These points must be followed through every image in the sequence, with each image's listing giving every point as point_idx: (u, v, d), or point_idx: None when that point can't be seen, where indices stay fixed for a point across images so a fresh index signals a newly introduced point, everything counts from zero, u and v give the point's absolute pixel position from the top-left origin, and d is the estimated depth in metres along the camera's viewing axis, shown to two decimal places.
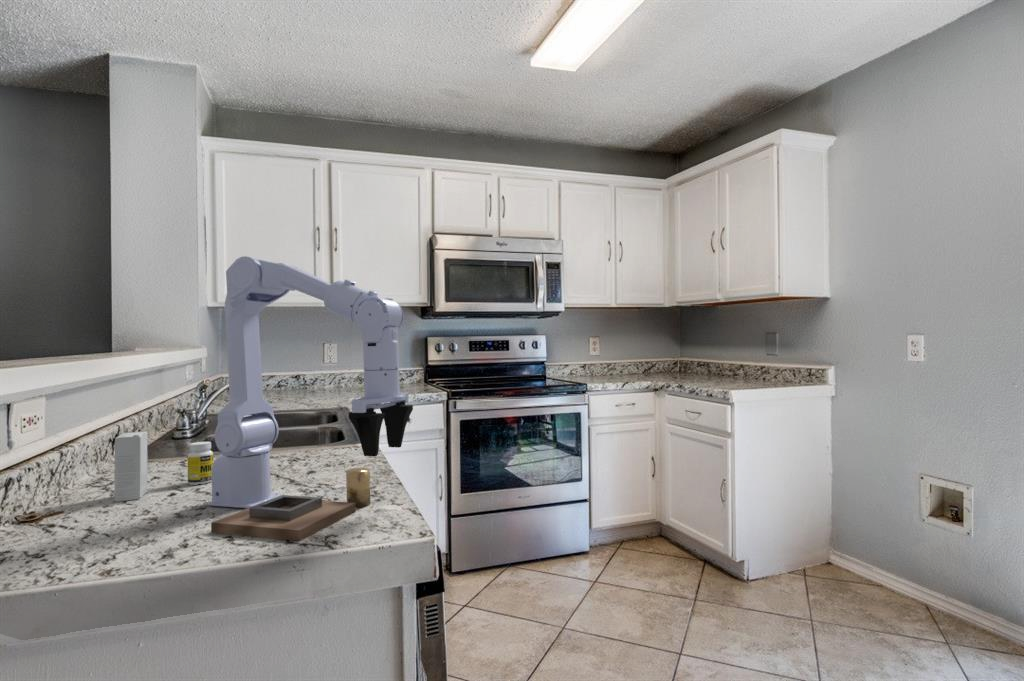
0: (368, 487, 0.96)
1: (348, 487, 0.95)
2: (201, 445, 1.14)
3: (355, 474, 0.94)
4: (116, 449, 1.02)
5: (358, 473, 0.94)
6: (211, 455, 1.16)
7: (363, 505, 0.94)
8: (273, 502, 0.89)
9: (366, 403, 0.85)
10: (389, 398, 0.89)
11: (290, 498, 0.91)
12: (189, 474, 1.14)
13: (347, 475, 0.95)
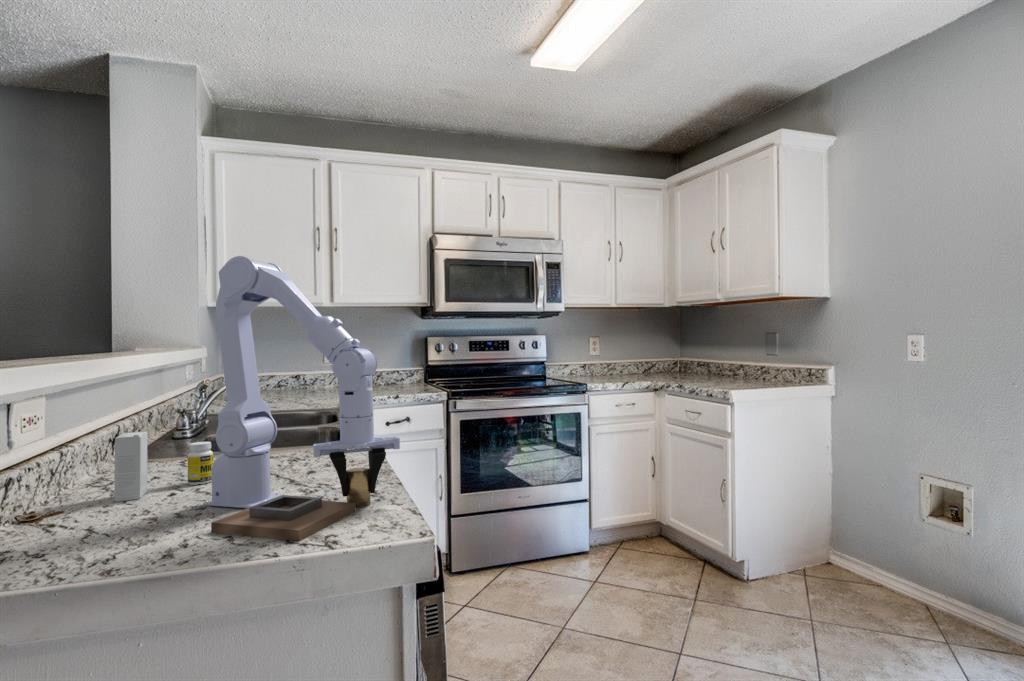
0: (368, 487, 0.96)
1: (348, 487, 0.95)
2: (201, 445, 1.14)
3: (355, 474, 0.94)
4: (116, 449, 1.02)
5: (358, 473, 0.94)
6: (211, 455, 1.16)
7: (363, 505, 0.94)
8: (273, 502, 0.89)
9: (319, 448, 0.93)
10: (347, 445, 0.93)
11: (290, 498, 0.91)
12: (189, 474, 1.14)
13: (347, 475, 0.95)
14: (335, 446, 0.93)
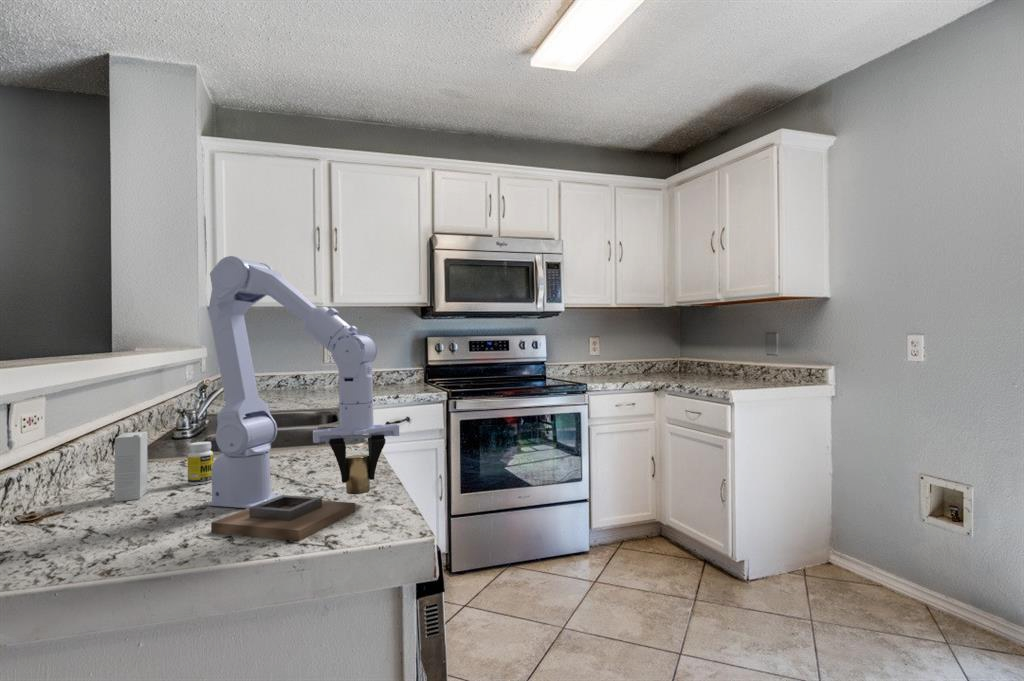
0: (367, 474, 0.96)
1: (347, 473, 0.95)
2: (201, 445, 1.14)
3: (355, 461, 0.94)
4: (116, 449, 1.02)
5: (358, 459, 0.94)
6: (211, 455, 1.16)
7: (362, 491, 0.95)
8: (273, 502, 0.89)
9: (319, 434, 0.93)
10: (347, 431, 0.93)
11: (290, 498, 0.91)
12: (189, 474, 1.14)
13: (347, 461, 0.95)
14: (335, 432, 0.93)
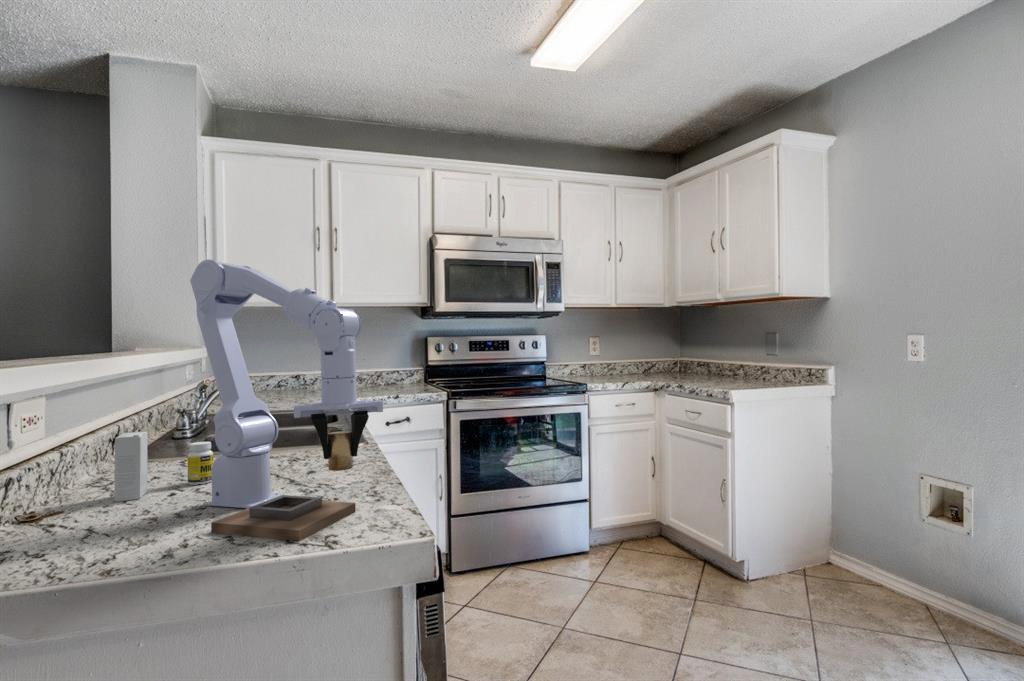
0: (350, 450, 0.94)
1: (330, 450, 0.92)
2: (201, 445, 1.14)
3: (337, 436, 0.92)
4: (116, 449, 1.02)
5: (340, 435, 0.92)
6: (211, 455, 1.16)
7: (345, 468, 0.92)
8: (273, 502, 0.89)
9: (300, 409, 0.91)
10: (328, 406, 0.91)
11: (290, 498, 0.91)
12: (189, 474, 1.14)
13: (329, 437, 0.93)
14: (316, 407, 0.91)
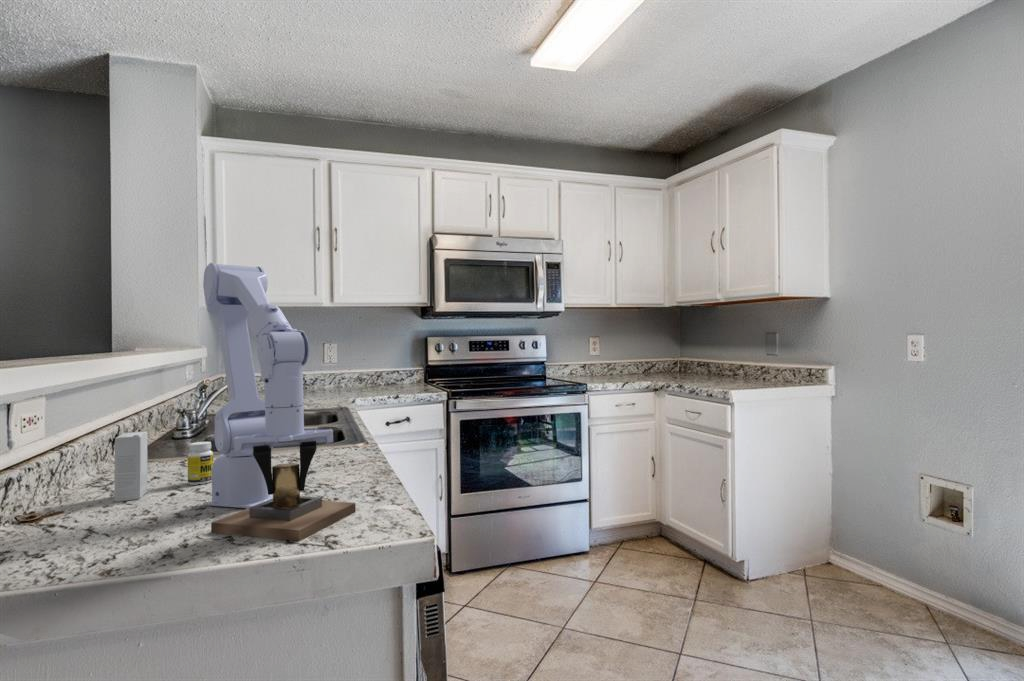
0: (297, 484, 0.87)
1: (274, 484, 0.86)
2: (201, 445, 1.14)
3: (281, 470, 0.85)
4: (116, 449, 1.02)
5: (284, 469, 0.86)
6: (211, 455, 1.16)
7: (290, 504, 0.86)
8: None
9: (240, 441, 0.84)
10: (271, 438, 0.84)
11: None
12: (189, 474, 1.14)
13: (273, 471, 0.86)
14: (258, 439, 0.84)
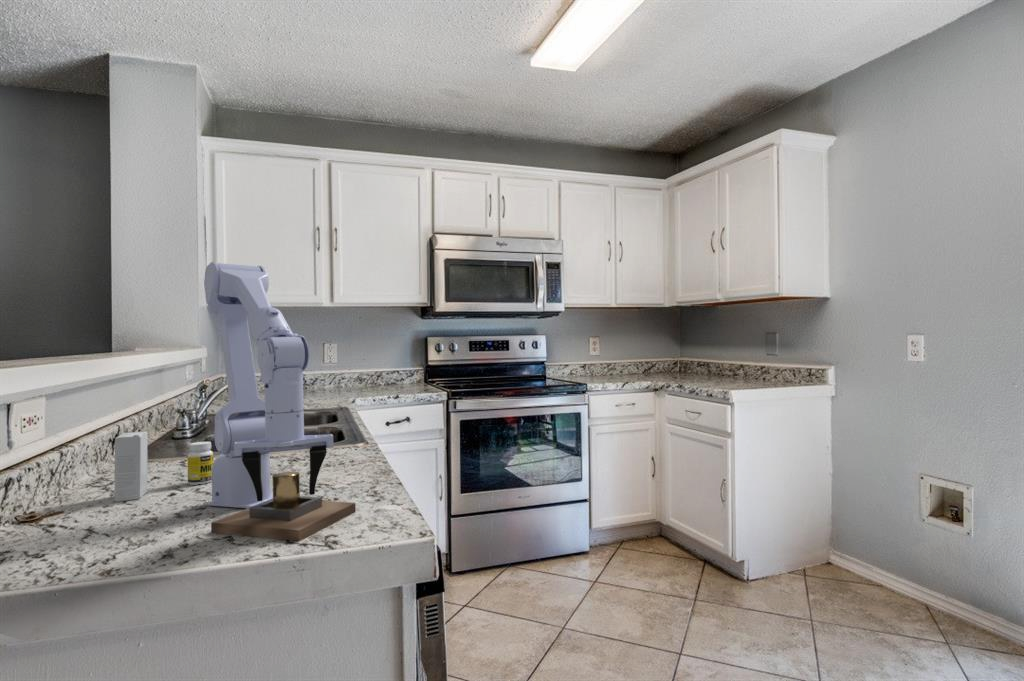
0: (297, 493, 0.87)
1: (274, 493, 0.86)
2: (201, 445, 1.14)
3: (282, 479, 0.85)
4: (116, 449, 1.02)
5: (285, 478, 0.86)
6: (211, 455, 1.16)
7: None
8: None
9: (240, 447, 0.84)
10: (271, 443, 0.84)
11: None
12: (189, 474, 1.14)
13: (273, 480, 0.86)
14: (258, 444, 0.84)
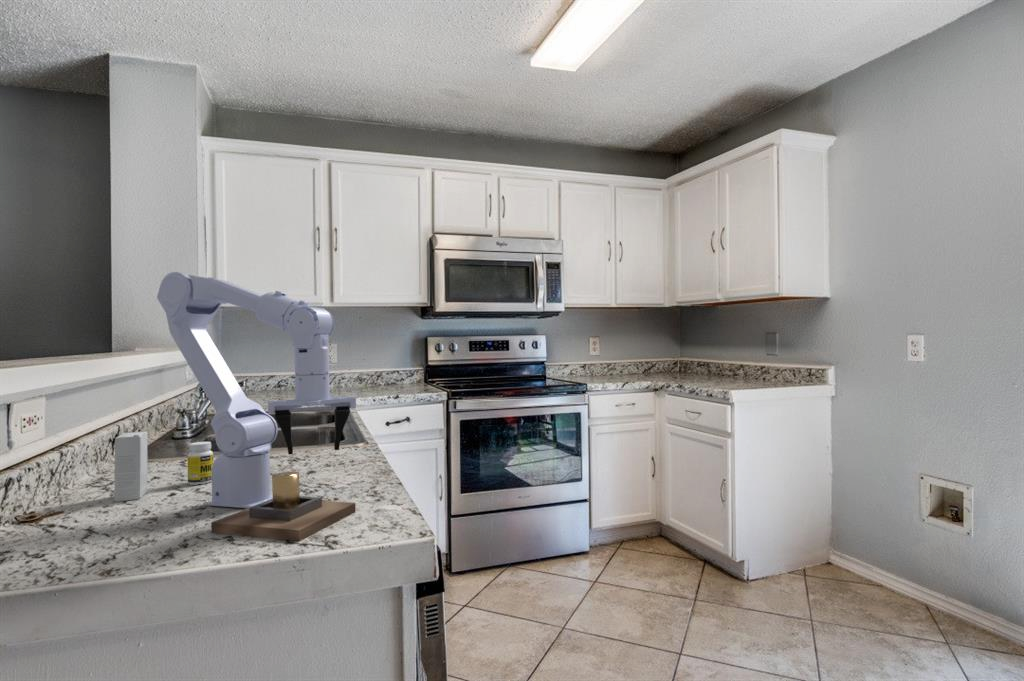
0: (297, 493, 0.87)
1: (274, 493, 0.86)
2: (201, 445, 1.14)
3: (281, 479, 0.85)
4: (116, 449, 1.02)
5: (284, 477, 0.86)
6: (211, 455, 1.16)
7: None
8: None
9: (274, 405, 0.94)
10: (301, 402, 0.94)
11: None
12: (189, 474, 1.14)
13: (273, 480, 0.86)
14: (289, 403, 0.94)
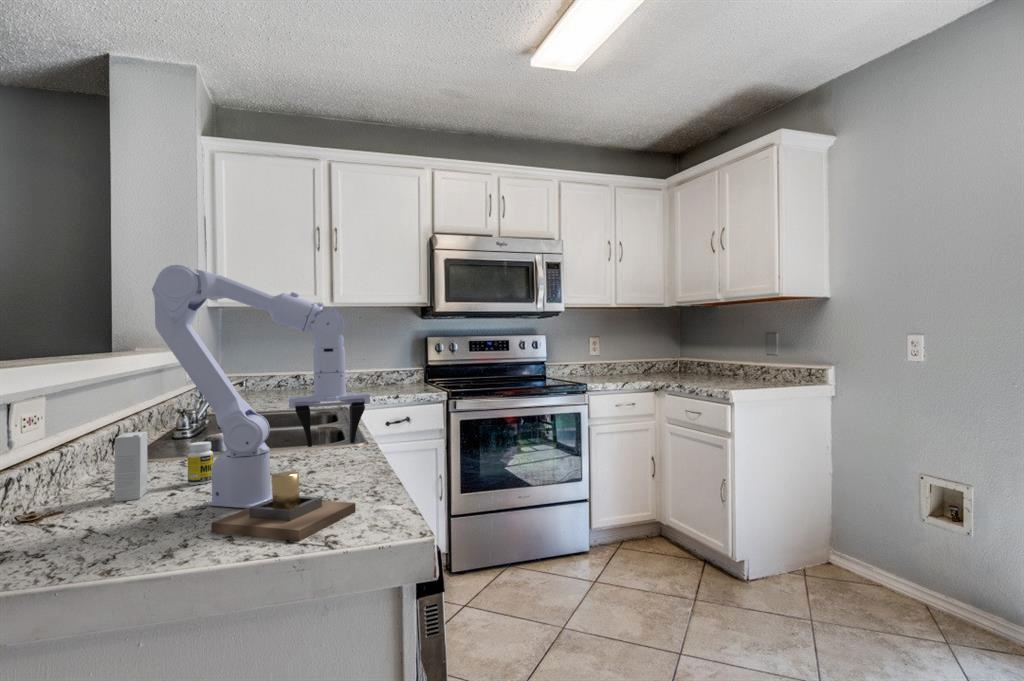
0: (297, 493, 0.87)
1: (274, 493, 0.86)
2: (201, 445, 1.14)
3: (281, 479, 0.85)
4: (116, 449, 1.02)
5: (284, 478, 0.85)
6: (211, 455, 1.16)
7: None
8: None
9: (294, 401, 1.00)
10: (320, 398, 1.01)
11: None
12: (189, 474, 1.14)
13: (272, 480, 0.86)
14: (309, 399, 1.01)
